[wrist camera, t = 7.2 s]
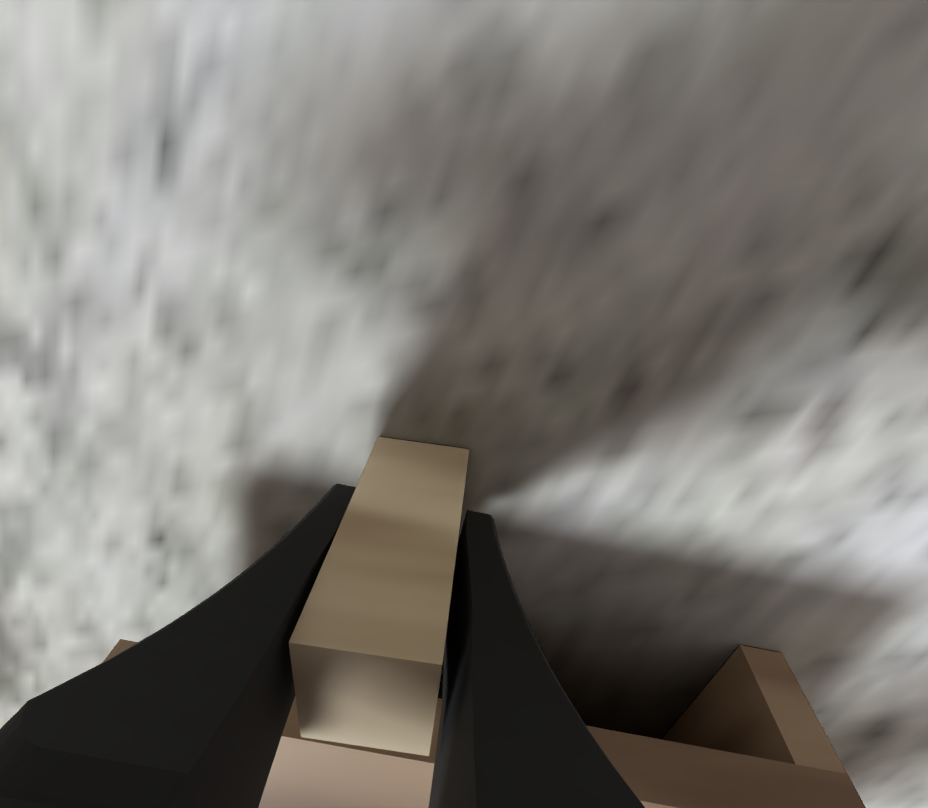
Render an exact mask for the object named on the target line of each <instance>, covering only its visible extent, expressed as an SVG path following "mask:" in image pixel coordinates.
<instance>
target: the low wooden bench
mask: <svg viewBox="0 0 928 808" xmlns="http://www.w3.org/2000/svg"><path fill="white" fill-rule="evenodd" d="M136 643H138V642H133V641H127V640H122V639H120V640H119V642H118V643H117V644H116V646H115V647H114V648H113V650H112V651H111V652H110V654H109V655H108V656H107V658H106V659H105V660H104V661H103V662H105V661H107V660H109V659H111V658H112V657H114V656H116V655H118V654H119V653H121V652H123V651H124V650H126V649H128V648H130V647H131V646H133V645H135V644H136ZM441 706H442V699H440V698H437V705H436V712H435V719H434V726H433V732H432V739H431V746H430V753H429V756H424V755H418V754H411V753H404V752H398V751H391V750H384V749H377V748H371V747H364V746H357V745H351V744H344V743H337V742H331V741H324V740H317V739H311V738H304V737H301V735H300V727H299V719H298V712H297V704H296V696H295V698H294V701H293V704H292V707H291V710H290V712H289V715H288V718H287V721H286V724H285V727H284V730H283V733H282V736H281V739H280V742H279V745H278V748H277V752H276V755H275V758H274V761H273V764H272V767H271V770H270V773H269V776H268V779H267V782H266V785H265V788H264V792H263V795H262V798H261V801H260V804H259V807H258V808H429V800H430V793H431V786H432V778H433V771H434V763H435V756H436V748H437V740H438V732H439V724H440V717H441ZM586 727H587V728H588V730H589V731H590V733H591V734H592V736H593V737H594V739H595V740H596V741H597V743H598V744H599V746H600V747H601V749H602V750H603V752H604V753H605V754H606V756H607V757H608V759H609V760H610V762H611V763H612V764H613V766H614V767H615V768H616V770H617V771H618V773H619V774H620V775H621V777H622V778H623V779H624V781H625V782H626V783H627V785H628V786H629V787H630V789H631V790H632V791H633V792H634V794H635V795H636V796H637V798H638V799H639V800H640V802H641V803H642V804H643V805H644V807H645V808H866V807H865V806H864V804H863V802H862V800H861V798H860V796H859V794H858V793H857V791H856V789H855V787H854V785H853V783H852V782H851V780H850V778H849V776H848V774H847V772H846V770H845V769H844V767H843V765H842V763H841V761H840V759H839V757H838V756H837V754H836V752H835V750H834V748H833V746H832V745H831V743H830V741H829V739H828V737H827V735H826V733H825V732H824V730H823V728H822V726H821V724H820V722H819V720H818V719H817V717H816V715H815V713H814V711H813V709H812V708H811V706H810V704H809V702H808V700H807V698H806V696H805V695H804V693H803V691H802V689H801V687H800V685H799V684H798V682H797V680H796V678H795V676H794V674H793V672H792V671H791V669H790V667H789V665H788V663H787V661H786V659H785V658H784V656H783V654H782V653H779V652H773V651H768V650H763V649H758V648H753V647H748V646H742V645H740V646H739V647H738V648H737V649H736V650H735V652H734V653H733V654H732V655H731V656H730V658H729V659H728V660H727V661H726V663H725V664H724V665H723V666H722V667H721V669H720V670H719V671H718V672H717V673H716V675H715V676H714V677H713V678H712V680H711V681H710V682H709V683H708V684H707V686H706V687H705V688H704V689H703V690H702V692H701V693H700V694H699V695H698V697H697V698H696V699H695V700H694V701H693V703H692V704H691V705H690V706H689V707H688V709H687V710H686V711H685V712H684V714H683V715H682V716H681V717H680V718H679V720H678V721H677V722H676V723H675V724H674V726H673V727H672V728H671V729H670V731H669V732H668V733H667V734H666V735H665V737H664V738H663V739H662V740H661V739H656V738H651V737H645V736H640V735H634V734H629V733H624V732H618V731H613V730H607V729H602V728H597V727H591V726H586Z"/></svg>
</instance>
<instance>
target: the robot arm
mask: <svg viewBox="0 0 928 808" xmlns="http://www.w3.org/2000/svg"><path fill="white" fill-rule="evenodd" d="M355 489H356V487H351V486H346V485H341V484H336V485H334V486H333V487H332V488H331V489H330V490H329V491H328V492H327V494H326V495H325V496H324V497H323V498H322V499H321V500H320V501H319V503H318V504H317V505H316V506H315V507H314V508H313V509H312V510H311V511H310V512H309V513H308V514H307V515H306V516H305V517H304V518H303V519H302V520H301V521H300V522H299V523H298V524H297V525H296V526H295V527H294V528H293V529H292V530H291V531H290V532H289V533H287V534H286V535H285V536H284V537H283V538H282V539H281V540H280V541H279V542H278V543H277V544H276V545H274V546H273V547H272V548H271V549H270V550H269V551H267V552H266V553H265V554H264V555H263V556H262V557H260V558H259V559H258V560H257V561H256V562H255V563H253V564H252V565H251V566H250V567H249V568H247V569H246V570H245V571H244V572H242V573H241V574H240V575H239V576H237V577H236V578H235V579H233V580H232V581H231V582H229V583H228V584H227V585H225V586H224V587H223V588H221V589H220V590H219V591H217V592H216V593H215V594H213V595H212V596H210V597H209V598H208V599H206V600H205V601H203V602H202V603H200V604H199V605H197V606H196V607H194V608H193V609H191V610H190V611H188V612H187V613H185V614H184V615H182V616H181V617H179V618H178V619H176V620H175V621H173V622H172V623H170V624H168V625H167V626H165V627H164V628H162V629H160V630H159V631H157V632H155V633H154V634H152V635H150V636H148V637H147V638H145V639H143V640H142V641H140V642H138V643H136V644H135V645H133V646H131V647H130V648H128V649H126V650H124V651H123V652H121V653H119V654H118V655H116V656H114V657H112V658H111V659H109V660H107V661H105V662H103V663H101V664H100V665H98V666H96V667H94V668H92V669H90V670H88V671H86V672H84V673H82V674H80V675H78V676H76V677H74V678H72V679H70V680H68V681H66V682H65V683H63V684H61V685H59V686H57V687H55V688H53V689H51V690H49V691H47V692H45V693H43V694H41V695H39V696H37V697H35V698H33V699H31V700H29V701H27V702H26V704H25V705H24V706H23V707H22V708H21V709H20V710H19V711H18V712H17V713H16V714H15V715H14V716H13V717H12V718H11V719H10V720H9V721H8V722H7V723H6V724H5V725H4V726H3V727H2V728H1V729H0V808H258V807H259V804H260V801H261V798H262V795H263V792H264V788H265V785H266V782H267V779H268V776H269V773H270V770H271V767H272V764H273V761H274V758H275V755H276V752H277V748H278V745H279V742H280V739H281V736H282V733H283V730H284V727H285V724H286V721H287V718H288V715H289V712H290V710H291V707H292V704H293V701H294V698H295V688H294V681H293V673H292V665H291V657H290V650H289V640H290V638H291V636H292V634H293V631H294V629H295V627H296V624H297V622H298V620H299V618H300V615H301V613H302V611H303V608H304V606H305V604H306V601H307V599H308V597H309V595H310V592H311V590H312V588H313V585H314V583H315V581H316V579H317V576H318V574H319V572H320V569H321V567H322V565H323V562H324V560H325V558H326V556H327V553H328V551H329V549H330V546H331V544H332V542H333V540H334V537H335V535H336V533H337V530H338V528H339V526H340V524H341V521H342V519H343V517H344V514H345V512H346V510H347V507H348V505H349V503H350V501H351V498H352V496H353V494H354V491H355ZM429 808H645V807H644V805H643V804H642V803H641V802H640V800H639V799H638V798H637V796H636V795H635V794H634V792H633V791H632V790H631V789H630V787H629V786H628V785H627V783H626V782H625V781H624V779H623V778H622V777H621V775H620V774H619V773H618V771H617V770H616V768H615V767H614V766H613V764H612V763H611V762H610V760H609V759H608V757H607V756H606V754H605V753H604V752H603V750H602V749H601V747H600V746H599V744H598V743H597V741H596V740H595V739H594V737H593V736H592V734H591V733H590V731H589V730H588V728H587V727H586V725H585V723H584V722H583V720H582V719H581V717H580V715H579V714H578V712H577V711H576V709H575V708H574V706H573V704H572V703H571V701H570V700H569V698H568V696H567V695H566V693H565V692H564V690H563V688H562V687H561V685H560V683H559V681H558V680H557V678H556V676H555V674H554V672H553V671H552V669H551V667H550V665H549V663H548V662H547V660H546V658H545V656H544V654H543V652H542V650H541V648H540V646H539V644H538V642H537V640H536V638H535V636H534V634H533V632H532V629H531V627H530V625H529V623H528V621H527V618H526V616H525V614H524V611H523V609H522V607H521V604H520V602H519V599H518V597H517V595H516V592H515V589H514V587H513V584H512V581H511V578H510V576H509V573H508V570H507V567H506V564H505V561H504V558H503V555H502V551H501V548H500V545H499V541H498V537H497V533H496V529H495V524H494V519H493V518H492V516H491V515H489V514H484V513H479V512H474V511H469V510H467V512H466V516H465V520H464V523H463V527H462V531H461V534H460V538H459V542H458V545H457V552H456V560H455V568H454V576H453V584H452V592H451V600H450V608H449V616H448V624H447V632H446V640H445V649H444V672H443V694H442V706H441V717H440V724H439V732H438V740H437V748H436V756H435V763H434V771H433V778H432V786H431V793H430V800H429Z"/></svg>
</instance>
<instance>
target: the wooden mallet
mask: <svg viewBox="0 0 928 808" xmlns="http://www.w3.org/2000/svg"><path fill="white" fill-rule="evenodd" d="M468 457H469V449H463V448H456V447H449V446H442V445H434V444H427V443H420V442H413V441H405V440H398V439H391V438H384V437H378V439H377V441H376V443H375V446H374V448H373V450H372V452H371V455H370V457H369V459H368V462H367V464H366V466H365V468H364V471H363V473H362V475H361V478H360V480H359V482H358V485H357V487H356V489H355V491H354V494H353V496H352V498H351V501H350V503H349V505H348V507H347V510H346V512H345V514H344V517H343V519H342V521H341V524H340V526H339V528H338V530H337V533H336V535H335V537H334V540H333V542H332V544H331V546H330V549H329V551H328V553H327V556H326V558H325V560H324V562H323V565H322V567H321V569H320V572H319V574H318V576H317V579H316V581H315V583H314V585H313V588H312V590H311V592H310V595H309V597H308V599H307V601H306V604H305V606H304V608H303V611H302V613H301V615H300V618H299V620H298V622H297V624H296V627H295V629H294V631H293V634H292V636H291V638H290V640H289V650H290V657H291V665H292V673H293V681H294V688H295V696H296V704H297V712H298V719H299V727H300V735H301V737H304V738H311V739H317V740H324V741H331V742H337V743H344V744H351V745H357V746H364V747H371V748H377V749H384V750H391V751H398V752H404V753H411V754H418V755H424V756H429V753H430V746H431V739H432V732H433V726H434V719H435V712H436V705H437V698H438V691H439V684H440V677H441V671H442V663H443V656H444V648H445V640H446V632H447V624H448V616H449V608H450V600H451V592H452V584H453V576H454V568H455V560H456V552H457V544H458V536H459V529H460V521H461V513H462V505H463V497H464V489H465V481H466V473H467V465H468Z"/></svg>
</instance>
